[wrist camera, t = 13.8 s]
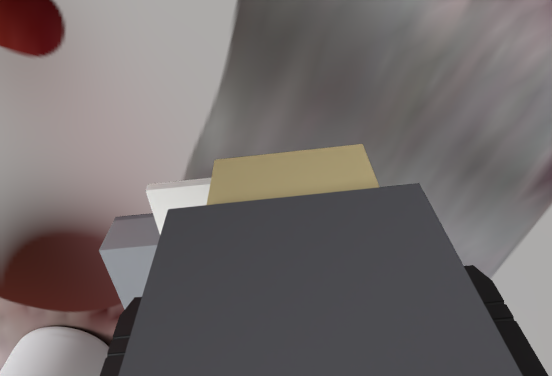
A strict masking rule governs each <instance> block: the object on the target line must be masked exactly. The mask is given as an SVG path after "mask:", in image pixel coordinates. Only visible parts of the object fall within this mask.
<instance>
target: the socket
mask: <svg viewBox="0 0 552 376" xmlns="http://www.w3.org/2000/svg"><path fill="white" fill-rule="evenodd" d="M159 238H160V233H159V230H158V227H157V224H156V221H155V218H154V215H153V213H152V214H141V215H131V216H122V217H116V218H115V219H114V221H113V223H112V225H111V227H110V230H109V232H108V233H107V235H106V237H105V239H104V241H103V243H102V245H101V248H100V250H99V251H100V254H101V256H102V258H103V261H104V263H105V265H106V267H107V270H108V272H109V274H110V277H111V279H112V281H113V284H114V286H115V288H116V291H117V293H118V295H119V298H120V300H121V302H122V304H123V307H124V309H126V307H127V306H128V305H129V304H130V302H131V301H132V300H133V299H134V297H142V295H143V292H144V288H145V285H146V282H147V278H148V275H149V271H150V268H151V265H152V261H153V258H154V255H155V251H156V248H157V245H158V241H159Z"/></svg>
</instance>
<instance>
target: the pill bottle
mask: <svg viewBox="0 0 552 376" xmlns="http://www.w3.org/2000/svg"><path fill="white" fill-rule="evenodd" d="M108 349H109V347H108V346H107V345H106V344H105V343H104V342H103V341H101V340H100V339H98V338H97V337H95V336H93V335H91V334H89V333H86V332H84V331H81V330H77V329H73V328H68V327H58V326H53V327H44V328H39V329H36V330H34V331H32V332H30V333H28V334H27V335H25V336H24V337H23V338H22V339H21V340H20V341H19V342H18V344H17V345H16V346H15V348H14V349H13V351H12V353H11V354H10V356H9V358H8V359H7V361H6V363H5V364H4V366H3V368H2V369H1V371H0V376H100V373H101V370H102V367H103V364H104V361H105V358H107V352H108Z"/></svg>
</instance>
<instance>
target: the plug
mask: <svg viewBox="0 0 552 376" xmlns="http://www.w3.org/2000/svg"><path fill="white" fill-rule="evenodd" d="M118 376H523V375H522V373H521V372H520V370H519V368H518V366H517V364H516V362H515V360H514V359H513V357H512V355H511V353H510V351H509V349H508V347H507V346H506V344H505V342H504V340H503V338H502V336H501V334H500V333H499V331H498V329H497V327H496V325H495V323H494V321H493V320H492V318H491V316H490V314H489V312H488V310H487V309H486V307H485V305H484V303H483V301H482V299H481V297H480V296H479V294H478V292H477V290H476V288H475V286H474V284H473V283H472V281H471V279H470V277H469V275H468V273H467V271H466V270H465V268H464V266H463V264H462V262H461V260H460V258H459V257H458V255H457V253H456V251H455V249H454V247H453V245H452V244H451V242H450V240H449V238H448V236H447V234H446V232H445V231H444V229H443V227H442V225H441V223H440V221H439V219H438V218H437V216H436V214H435V212H434V210H433V208H432V206H431V205H430V203H429V201H428V199H427V197H426V195H425V193H424V192H423V190H422V188H421V186H420V184H419V183H417V184H407V185H397V186H387V187H379V184H378V182H377V179H376V177H375V174H374V172H373V169H372V167H371V164H370V162H369V159H368V157H367V154H366V152H365V149H364V147H363V144H357V145H348V146H339V147H329V148H320V149H310V150H301V151H292V152H282V153H273V154H264V155H254V156H245V157H236V158H226V159H217V160H215V161H214V166H213V172H212V177H211V183H210V188H209V194H208V199H207V205H203V206H193V207H184V208H174V209H168V211H167V215H166V218H165V221H164V225H163V228H162V231H161V235H160V238H159V241H158V245H157V248H156V251H155V255H154V258H153V261H152V265H151V268H150V271H149V275H148V278H147V282H146V285H145V288H144V292H143V295H142V298H141V302H140V305H139V308H138V312H137V315H136V318H135V322H134V325H133V328H132V332H131V335H130V338H129V342H128V345H127V348H126V352H125V355H124V358H123V362H122V365H121V368H120V372H119V375H118Z"/></svg>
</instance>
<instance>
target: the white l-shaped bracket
mask: <svg viewBox="0 0 552 376" xmlns="http://www.w3.org/2000/svg"><path fill="white" fill-rule="evenodd" d="M210 183H211V178H204V179H194V180H184V181H175V182H165V183H155V184H148V186H147V188H146V194H147V197H148V200H149V203H150V206H151V209H152V212H153V215H154V218H155V221H156V224H157V227H158V230H159V233H160V235H161V231H162V228H163V225H164V221H165V218H166V215H167V211H168V209H174V208H184V207H193V206H203V205H207V199H208V194H209V188H210Z"/></svg>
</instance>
